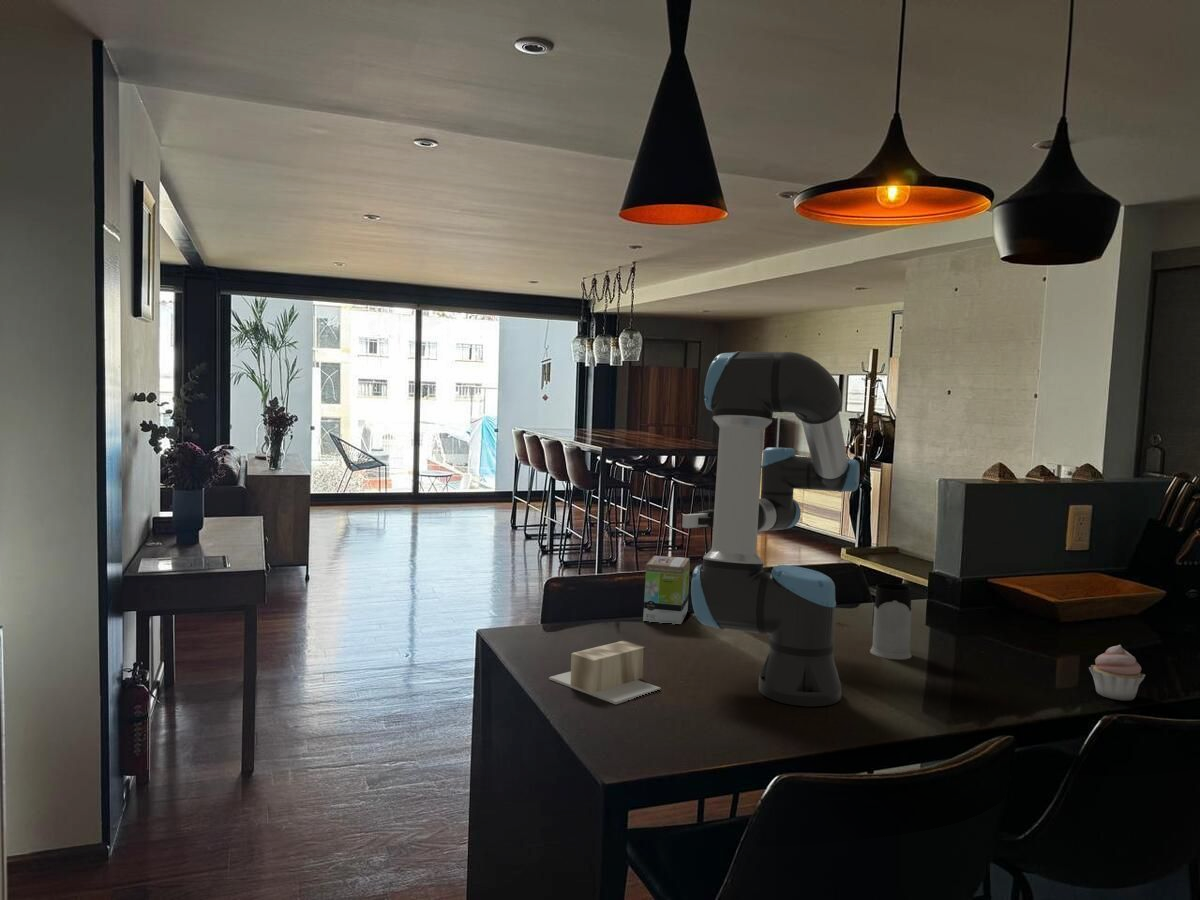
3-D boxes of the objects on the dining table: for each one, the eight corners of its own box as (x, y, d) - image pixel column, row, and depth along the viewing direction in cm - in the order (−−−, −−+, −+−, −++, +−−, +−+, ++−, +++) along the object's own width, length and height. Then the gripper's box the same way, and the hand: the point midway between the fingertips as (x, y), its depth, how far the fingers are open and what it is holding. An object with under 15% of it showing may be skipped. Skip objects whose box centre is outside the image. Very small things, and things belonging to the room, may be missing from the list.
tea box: (682, 625, 206) (684, 566, 205) (642, 622, 208) (644, 563, 207) (688, 612, 221) (690, 556, 220) (650, 609, 223) (652, 554, 222)
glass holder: (871, 657, 183) (874, 589, 182) (866, 640, 197) (869, 577, 196) (914, 661, 181) (917, 592, 180) (906, 644, 195) (909, 580, 194)
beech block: (645, 647, 162) (593, 660, 153) (644, 677, 163) (592, 693, 153) (623, 640, 167) (571, 653, 157) (622, 670, 167) (570, 684, 157)
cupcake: (1132, 707, 155) (1135, 654, 155) (1079, 693, 163) (1081, 642, 162) (1153, 698, 161) (1156, 647, 160) (1100, 685, 168) (1103, 635, 168)
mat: (660, 690, 157) (660, 687, 157) (615, 704, 149) (615, 701, 149) (593, 667, 170) (594, 665, 170) (549, 679, 161) (549, 676, 161)
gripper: (775, 535, 186) (709, 543, 169) (727, 529, 195) (660, 535, 179) (776, 502, 186) (710, 506, 169) (729, 497, 195) (662, 500, 178)
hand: (685, 521), depth 174 cm, fingers closed
